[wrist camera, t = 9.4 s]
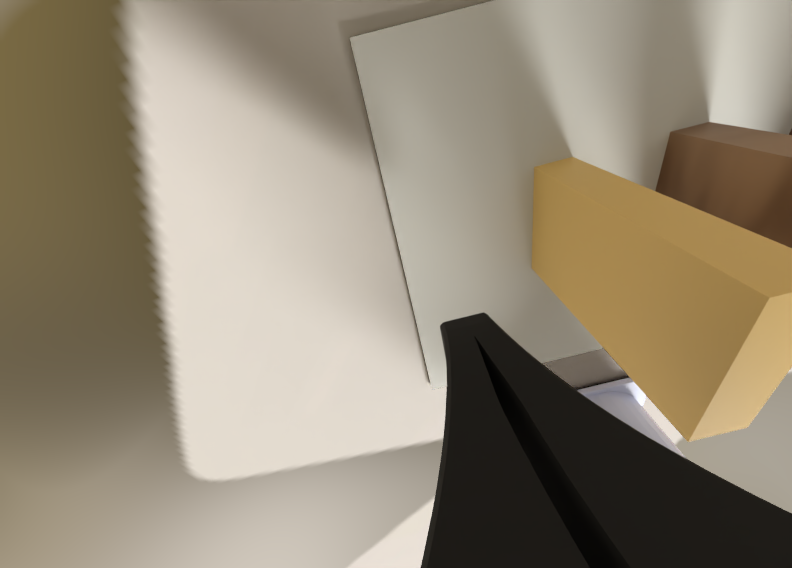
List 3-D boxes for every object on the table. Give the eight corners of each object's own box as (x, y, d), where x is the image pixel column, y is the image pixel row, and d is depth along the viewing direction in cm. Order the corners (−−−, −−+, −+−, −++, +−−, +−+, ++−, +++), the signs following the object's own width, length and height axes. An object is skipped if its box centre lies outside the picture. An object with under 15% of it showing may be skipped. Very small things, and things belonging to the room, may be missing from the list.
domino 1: (674, 232, 16) (955, 377, 9) (642, 240, 16) (896, 392, 9) (709, 122, 13) (1175, 197, 6) (670, 131, 13) (1084, 220, 6)
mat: (948, 259, 20) (957, 262, 20) (430, 384, 21) (432, 390, 20) (1388, -232, 10) (1424, -242, 10) (349, 38, 11) (349, 37, 10)
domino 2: (563, 259, 16) (747, 427, 9) (531, 268, 16) (688, 441, 9) (572, 156, 13) (857, 275, 6) (534, 166, 13) (769, 297, 6)
